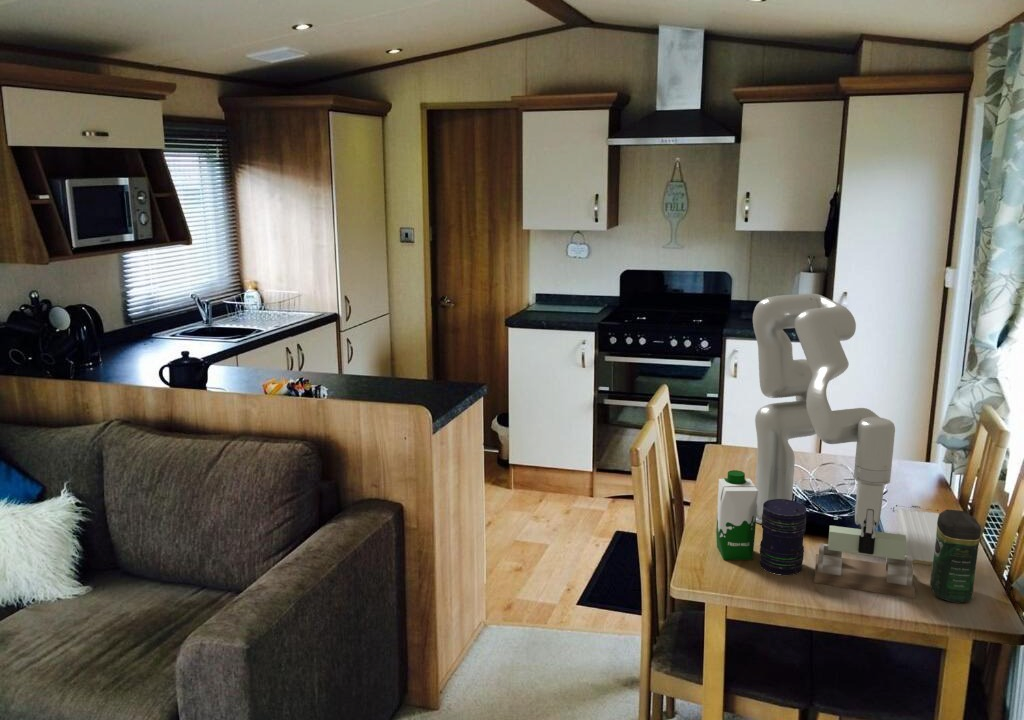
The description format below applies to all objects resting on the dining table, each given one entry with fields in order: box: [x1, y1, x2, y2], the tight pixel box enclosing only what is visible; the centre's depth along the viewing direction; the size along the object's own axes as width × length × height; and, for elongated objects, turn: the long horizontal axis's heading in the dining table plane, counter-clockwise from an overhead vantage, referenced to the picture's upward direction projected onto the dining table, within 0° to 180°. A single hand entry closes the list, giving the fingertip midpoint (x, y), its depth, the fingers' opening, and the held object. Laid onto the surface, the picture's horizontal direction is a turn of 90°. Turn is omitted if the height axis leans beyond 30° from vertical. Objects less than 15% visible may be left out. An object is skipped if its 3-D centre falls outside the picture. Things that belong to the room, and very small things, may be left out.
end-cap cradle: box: [814, 543, 915, 599], centre depth 195 cm, size 21×12×6 cm, turn 69°
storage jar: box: [759, 499, 807, 576], centre depth 200 cm, size 10×10×15 cm
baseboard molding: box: [890, 504, 940, 566], centre depth 216 cm, size 31×3×12 cm
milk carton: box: [715, 469, 758, 561], centre depth 206 cm, size 9×9×20 cm
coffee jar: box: [929, 508, 982, 604], centre depth 186 cm, size 10×8×19 cm
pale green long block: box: [828, 525, 907, 560], centre depth 194 cm, size 16×4×4 cm, turn 69°
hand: (865, 548), depth 194 cm, fingers closed on pale green long block, 3 cm apart
